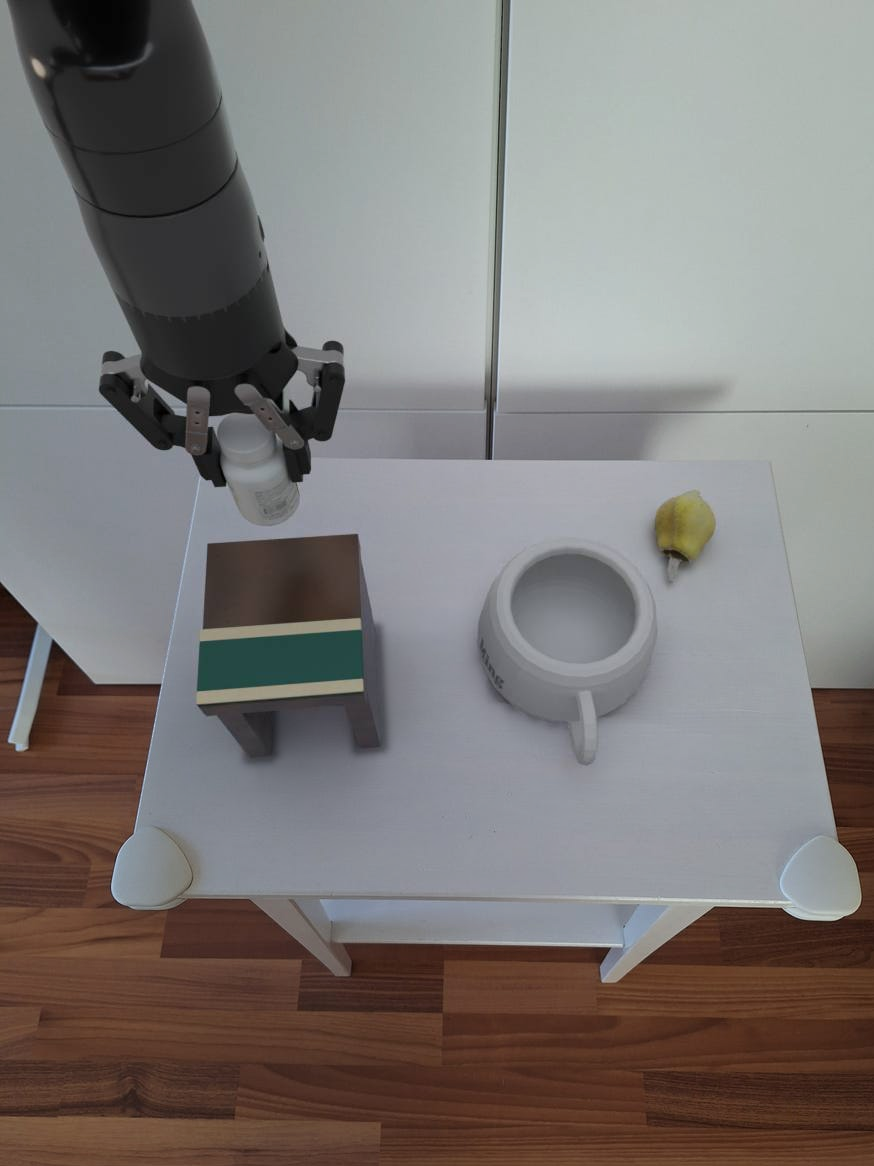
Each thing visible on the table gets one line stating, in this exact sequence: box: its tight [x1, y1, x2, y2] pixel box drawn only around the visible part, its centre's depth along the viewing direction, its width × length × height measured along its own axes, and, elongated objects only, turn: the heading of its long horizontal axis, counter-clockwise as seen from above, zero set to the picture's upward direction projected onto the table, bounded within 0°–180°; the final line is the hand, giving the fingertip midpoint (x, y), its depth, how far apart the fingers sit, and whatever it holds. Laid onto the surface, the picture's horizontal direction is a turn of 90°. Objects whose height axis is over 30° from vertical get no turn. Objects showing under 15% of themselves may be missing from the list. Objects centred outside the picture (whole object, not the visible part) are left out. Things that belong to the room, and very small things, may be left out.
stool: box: [198, 533, 382, 758], centre depth 68 cm, size 12×14×16 cm
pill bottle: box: [216, 413, 301, 527], centre depth 53 cm, size 4×4×8 cm
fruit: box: [654, 489, 717, 584], centre depth 81 cm, size 6×6×10 cm
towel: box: [195, 618, 364, 708], centre depth 59 cm, size 12×6×1 cm, turn 96°
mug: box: [476, 536, 658, 767], centre depth 72 cm, size 21×17×10 cm
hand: (260, 473), depth 53 cm, fingers closed on pill bottle, 4 cm apart
